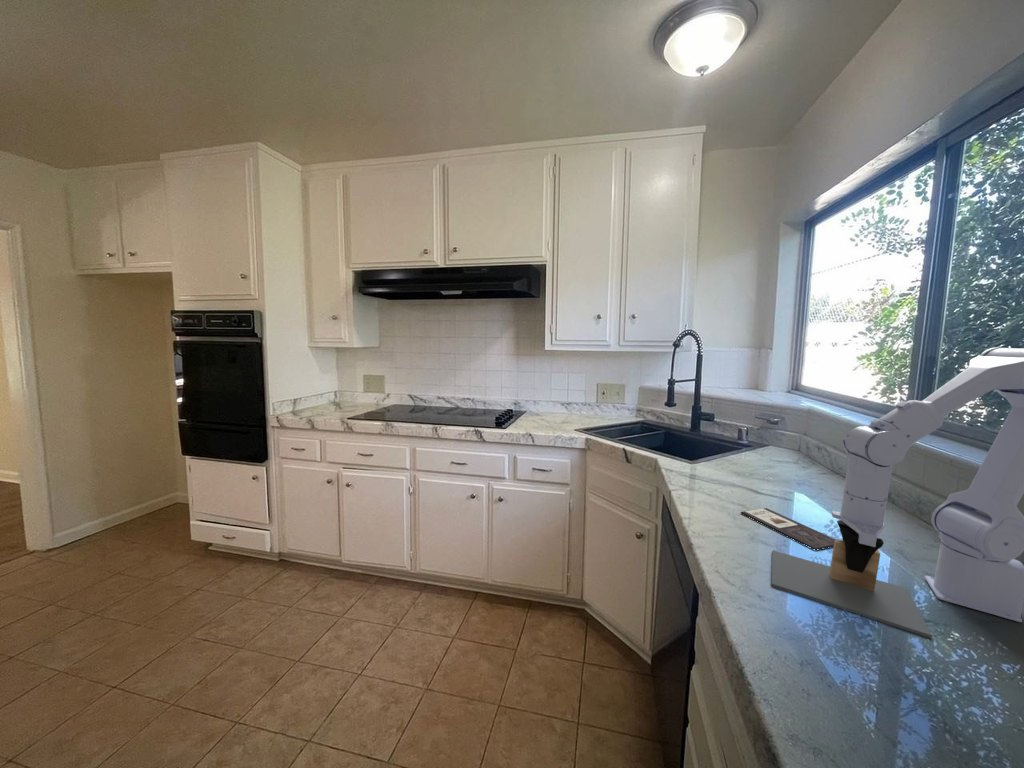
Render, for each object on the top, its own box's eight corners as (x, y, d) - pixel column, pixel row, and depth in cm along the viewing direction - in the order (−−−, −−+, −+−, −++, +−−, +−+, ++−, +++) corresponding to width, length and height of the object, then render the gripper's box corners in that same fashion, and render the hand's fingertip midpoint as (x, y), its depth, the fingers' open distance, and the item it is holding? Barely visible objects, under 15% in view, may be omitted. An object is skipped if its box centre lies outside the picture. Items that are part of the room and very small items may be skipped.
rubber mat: (905, 590, 70) (906, 588, 69) (931, 638, 58) (932, 635, 58) (772, 552, 81) (772, 550, 81) (771, 586, 69) (771, 583, 69)
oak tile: (871, 585, 70) (877, 548, 69) (874, 591, 68) (880, 553, 67) (829, 573, 73) (834, 538, 72) (830, 578, 71) (835, 542, 71)
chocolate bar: (815, 548, 82) (740, 511, 99) (814, 552, 82) (740, 515, 99) (843, 543, 85) (766, 508, 102) (843, 547, 85) (766, 511, 102)
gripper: (831, 478, 77) (821, 543, 78) (841, 501, 65) (829, 577, 67) (879, 487, 73) (868, 555, 75) (899, 514, 61) (885, 594, 63)
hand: (853, 566), depth 70 cm, fingers closed on oak tile, 2 cm apart
